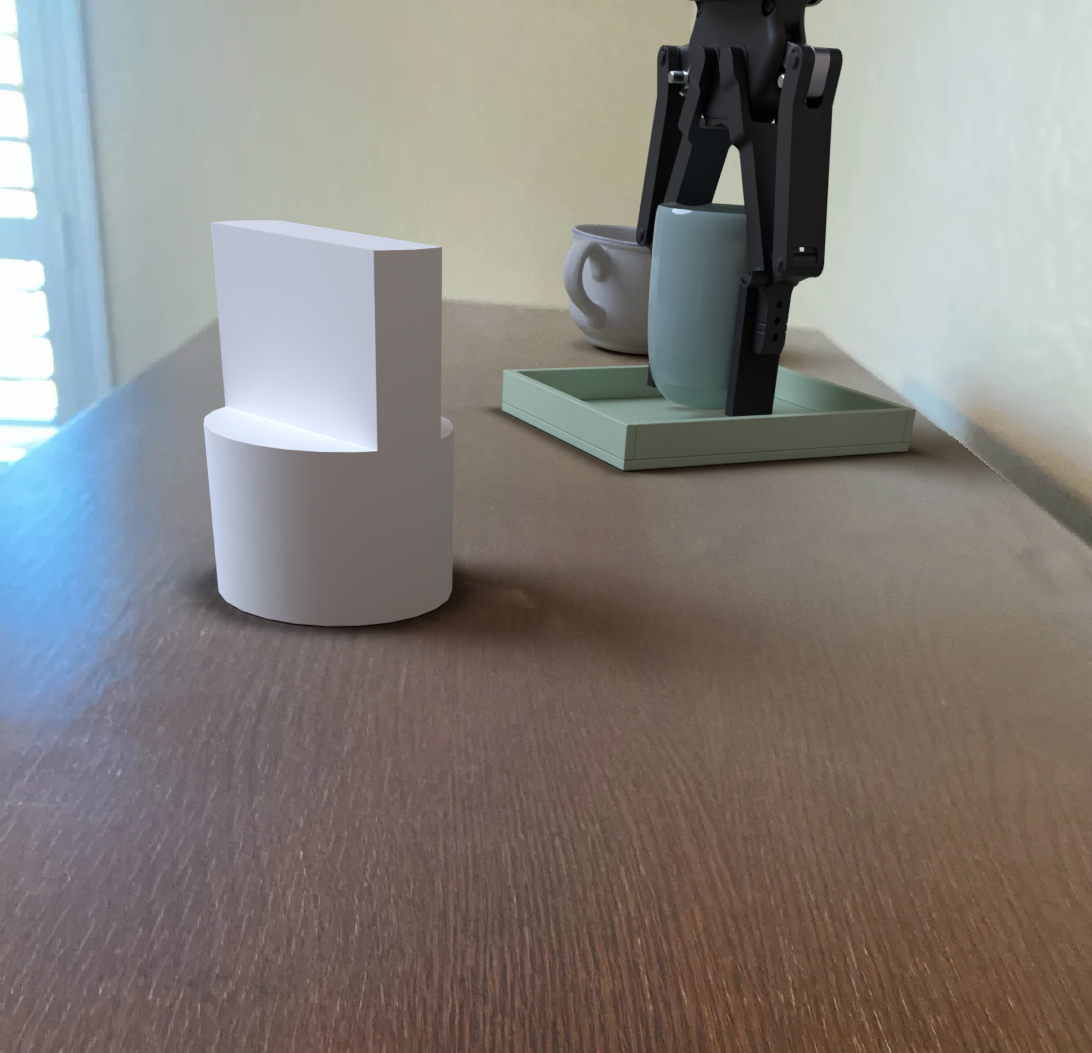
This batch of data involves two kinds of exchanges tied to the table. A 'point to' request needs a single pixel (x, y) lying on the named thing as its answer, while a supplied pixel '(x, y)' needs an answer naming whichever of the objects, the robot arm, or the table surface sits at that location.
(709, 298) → the cup
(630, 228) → the teacup
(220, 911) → the table surface
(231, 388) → the cylinder with rectangular tab
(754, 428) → the tray
